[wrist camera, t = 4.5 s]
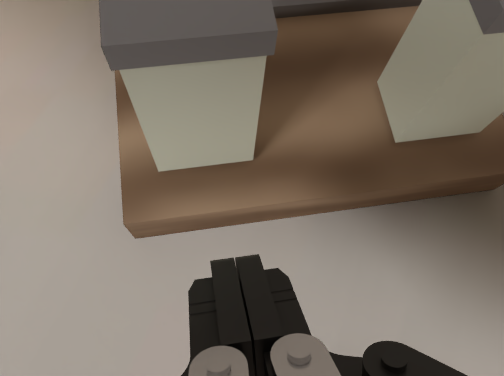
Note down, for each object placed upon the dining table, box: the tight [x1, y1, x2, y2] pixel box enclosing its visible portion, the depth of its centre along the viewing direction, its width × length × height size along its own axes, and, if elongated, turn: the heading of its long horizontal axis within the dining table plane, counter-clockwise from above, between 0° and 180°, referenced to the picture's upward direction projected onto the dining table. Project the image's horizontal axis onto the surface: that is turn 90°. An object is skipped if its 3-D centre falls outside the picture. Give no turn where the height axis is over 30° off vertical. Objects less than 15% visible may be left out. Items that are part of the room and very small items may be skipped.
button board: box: [115, 0, 504, 239], centre depth 26 cm, size 16×22×5 cm
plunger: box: [377, 0, 504, 143], centre depth 20 cm, size 4×5×10 cm
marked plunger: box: [99, 0, 278, 172], centre depth 19 cm, size 4×5×10 cm
